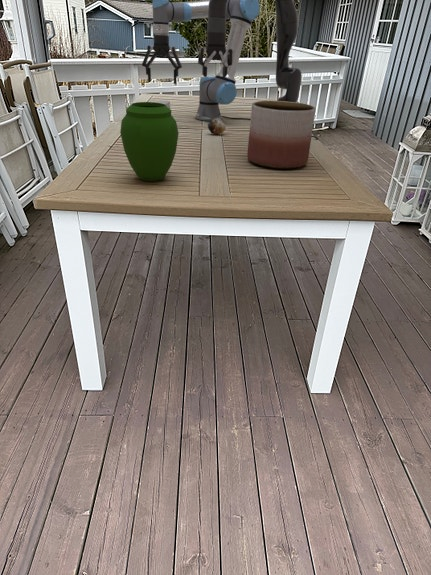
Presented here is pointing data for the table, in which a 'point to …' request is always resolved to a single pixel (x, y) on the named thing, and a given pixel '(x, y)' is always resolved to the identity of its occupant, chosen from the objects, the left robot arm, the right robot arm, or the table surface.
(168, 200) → the table surface
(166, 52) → the left robot arm
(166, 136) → the vase
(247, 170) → the table surface
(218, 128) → the seashell
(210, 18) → the right robot arm
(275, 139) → the planter
